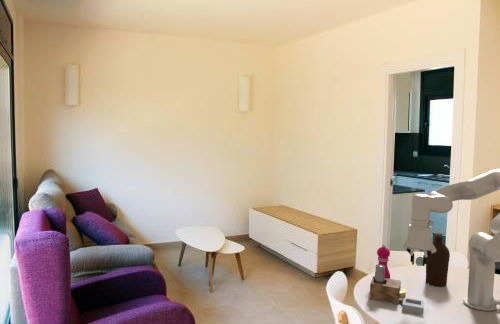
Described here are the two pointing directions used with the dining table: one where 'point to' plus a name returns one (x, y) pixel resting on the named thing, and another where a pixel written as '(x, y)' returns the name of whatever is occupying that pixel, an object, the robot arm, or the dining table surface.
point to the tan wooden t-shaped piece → (402, 294)
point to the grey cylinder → (380, 274)
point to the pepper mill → (384, 259)
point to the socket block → (385, 290)
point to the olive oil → (437, 263)
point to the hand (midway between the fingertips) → (418, 264)
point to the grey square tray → (413, 305)
